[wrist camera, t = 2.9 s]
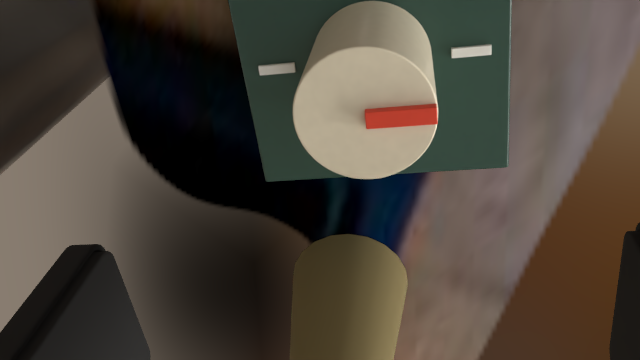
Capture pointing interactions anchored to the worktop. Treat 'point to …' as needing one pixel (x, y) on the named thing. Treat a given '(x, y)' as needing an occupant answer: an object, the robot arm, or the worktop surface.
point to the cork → (347, 300)
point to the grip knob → (367, 92)
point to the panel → (449, 72)
